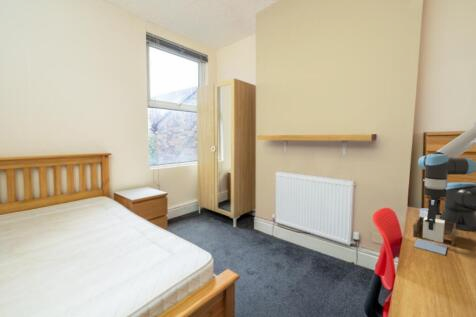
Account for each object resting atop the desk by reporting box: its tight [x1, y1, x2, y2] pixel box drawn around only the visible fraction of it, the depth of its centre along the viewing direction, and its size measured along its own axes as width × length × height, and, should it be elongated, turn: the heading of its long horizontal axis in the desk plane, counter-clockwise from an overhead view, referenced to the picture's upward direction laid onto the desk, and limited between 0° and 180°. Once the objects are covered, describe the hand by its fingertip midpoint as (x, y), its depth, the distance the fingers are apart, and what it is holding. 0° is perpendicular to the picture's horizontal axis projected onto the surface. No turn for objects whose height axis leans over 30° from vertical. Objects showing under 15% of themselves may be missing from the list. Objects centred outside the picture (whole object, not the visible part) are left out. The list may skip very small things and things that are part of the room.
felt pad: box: [412, 238, 448, 256], centre depth 92 cm, size 10×10×1 cm
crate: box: [412, 216, 457, 247], centre depth 102 cm, size 15×14×6 cm
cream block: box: [422, 217, 445, 244], centre depth 99 cm, size 5×7×9 cm
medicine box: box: [418, 207, 428, 218], centre depth 113 cm, size 8×4×9 cm, turn 168°
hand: (432, 231), depth 100 cm, fingers open, 13 cm apart
